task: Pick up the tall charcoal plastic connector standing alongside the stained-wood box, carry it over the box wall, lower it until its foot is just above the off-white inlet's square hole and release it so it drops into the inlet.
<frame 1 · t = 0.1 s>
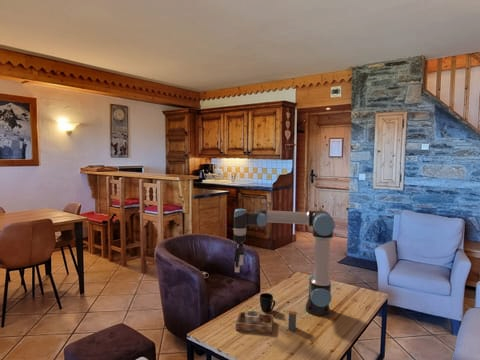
hand: (239, 268, 200), 28 cm above the table, fingers open, 13 cm apart
box: (254, 325, 186), on the table
mug: (267, 311, 204), on the table
connector: (291, 328, 184), on the table
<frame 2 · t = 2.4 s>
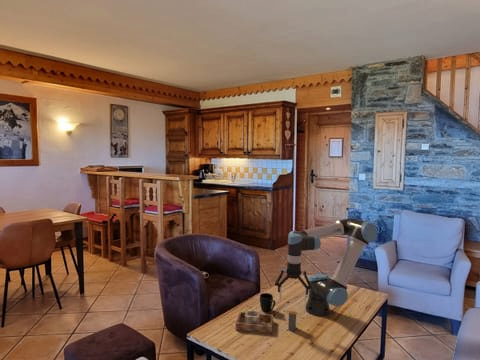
hand: (292, 299, 183), 17 cm above the table, fingers open, 13 cm apart
nothing on the table moved.
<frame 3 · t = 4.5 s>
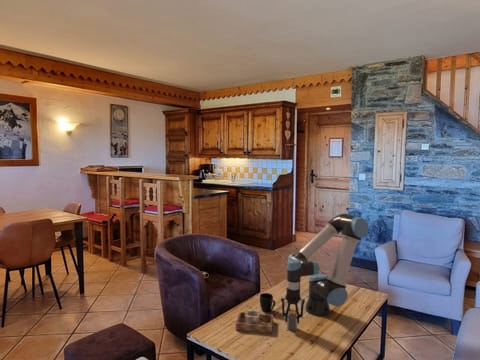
hand: (291, 327, 184), 0 cm above the table, fingers closed on connector, 4 cm apart
connector: (291, 328, 184), on the table, touching gripper
everything else where it was.
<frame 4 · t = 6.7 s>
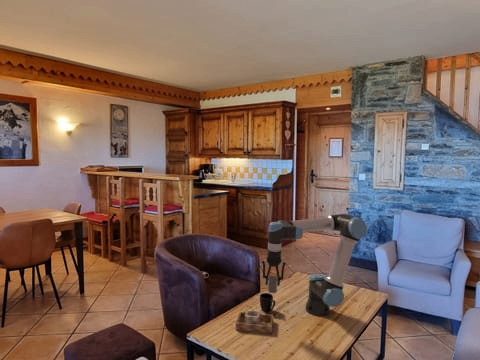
hand: (272, 290, 184), 21 cm above the table, fingers closed on connector, 4 cm apart
connector: (272, 291, 183), point 21 cm above the table, touching gripper
everything else where it was.
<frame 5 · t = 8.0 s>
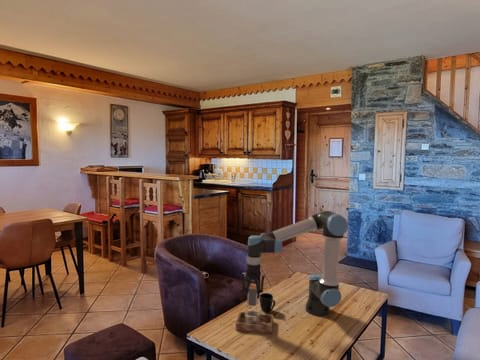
hand: (252, 303, 186), 13 cm above the table, fingers closed on connector, 4 cm apart
connector: (252, 304, 186), point 13 cm above the table, touching gripper
everything else where it was.
when the fingers open (8 cm above the table, at t = 9.1 s): connector drops 5 cm, resting on box.
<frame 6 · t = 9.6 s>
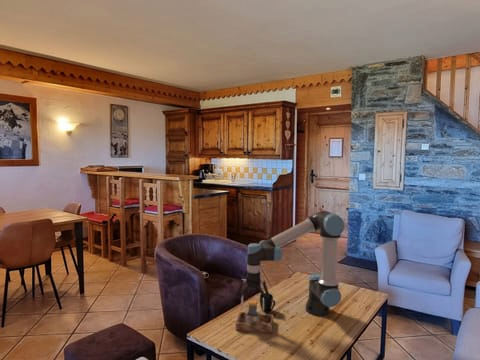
hand: (252, 308, 186), 10 cm above the table, fingers open, 11 cm apart
connector: (252, 320, 186), point 3 cm above the table, touching box
everything else where it was.
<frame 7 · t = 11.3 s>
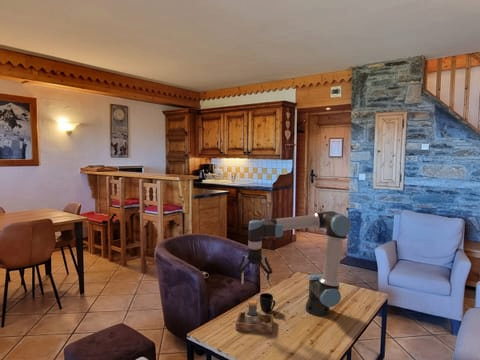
hand: (254, 284, 186), 24 cm above the table, fingers open, 13 cm apart
nothing on the table moved.
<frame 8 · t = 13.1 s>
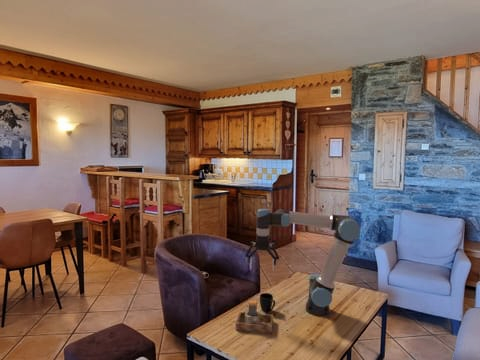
hand: (261, 269, 197), 29 cm above the table, fingers open, 13 cm apart
nothing on the table moved.
at the end: connector 0.1 cm from the target spot on the box, point 3.0 cm above the box's base; connector tilted 0°; the gripper is holding nothing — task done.
